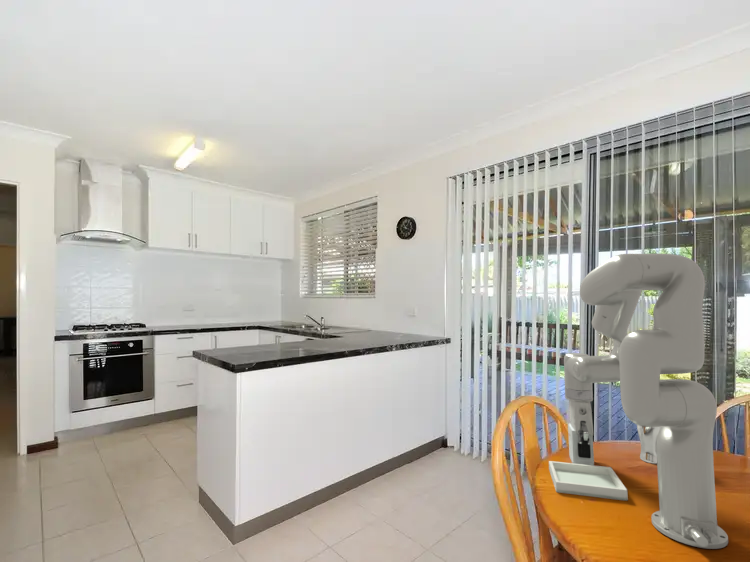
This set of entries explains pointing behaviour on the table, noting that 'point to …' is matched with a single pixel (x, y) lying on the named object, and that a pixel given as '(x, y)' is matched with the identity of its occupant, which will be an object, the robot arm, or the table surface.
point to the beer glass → (648, 443)
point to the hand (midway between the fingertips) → (580, 451)
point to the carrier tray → (587, 480)
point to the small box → (574, 448)
